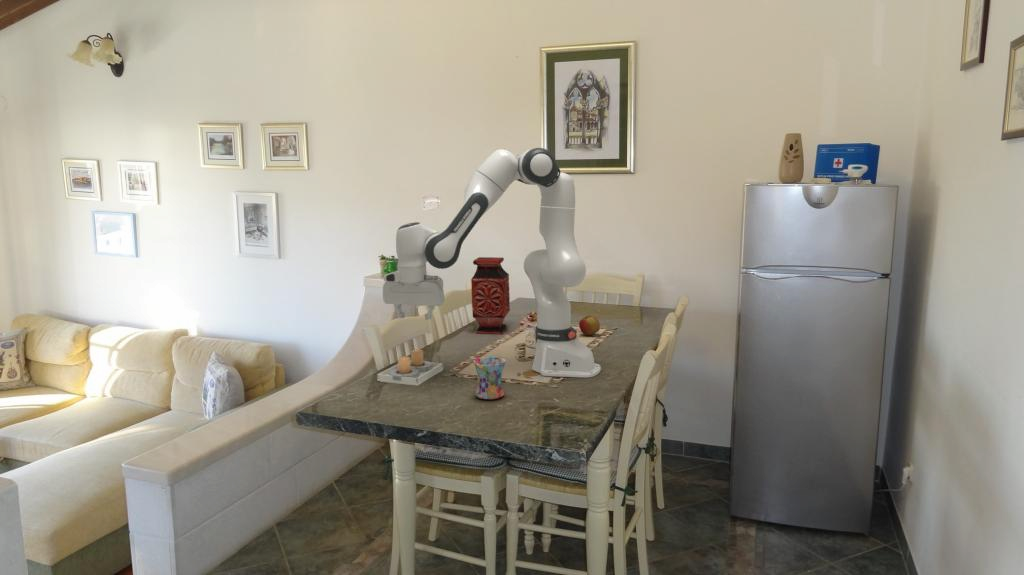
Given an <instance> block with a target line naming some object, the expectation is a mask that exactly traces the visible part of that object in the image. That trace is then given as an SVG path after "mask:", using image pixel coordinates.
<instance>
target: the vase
mask: <svg viewBox="0 0 1024 575" xmlns="http://www.w3.org/2000/svg"><path fill="white" fill-rule="evenodd" d="M504 260H505V259H504V257H497V256H496V257H494V256H493V257H491V256H490V257H487V256H486V257H485V256H484V257H483V256H482V257H480V256H479V257H477V258H476V259H474V260H472V261H473V262H472V263H473V265H475V266H476V270H475V272H474V275H473V276H472V277H471V305H472V306H471V308H472V318H473V319H475V320H476V322H477V324H478V325H479V327H478V328H477V329H476V334H481V335H482V334H484V335H503V334H504V332H505V331H506V330H507V324H504V320H505V318H506V317H507V315H508V314H509V312H510V311H511V308H510V304H511V302H510V282H509V280H510V278H509V277H510V274H509V273H508V272H507V271H506V270H505V269H504V268H503V267H502V264H501V263H503V262H504Z"/></svg>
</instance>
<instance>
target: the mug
mask: <svg viewBox="0 0 1024 575" xmlns="http://www.w3.org/2000/svg"><path fill="white" fill-rule="evenodd" d="M472 361H473V362H472V363H473V365H474V368H475V370H476V374H477V387H476V390H475V393H474V395H475V396H476V397H477V398H479V399H482V400H496V399H499V398H502V397H504V395H505V390H504V389H503V384H502V375H503V370H504V366H505V364H506V359H504V357H503V358H502V357H498V356H483V357H478V358H476V359H474V360H472Z"/></svg>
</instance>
